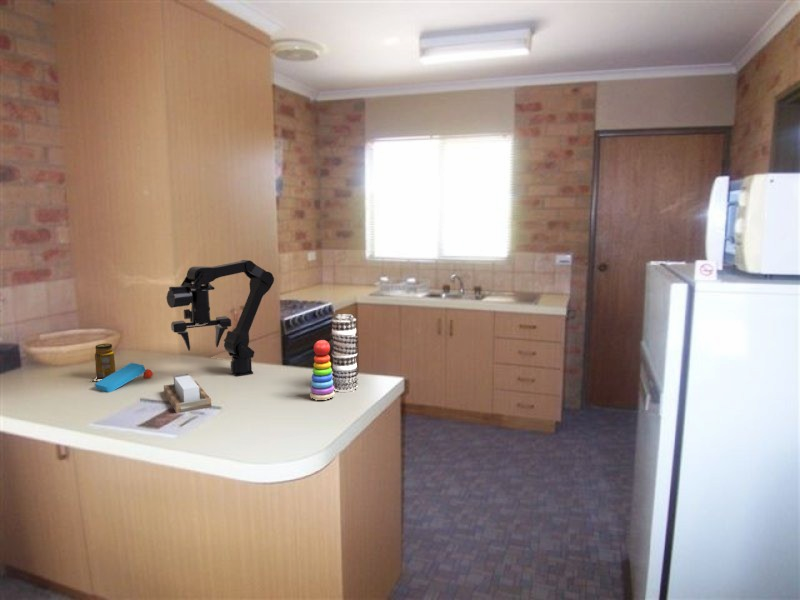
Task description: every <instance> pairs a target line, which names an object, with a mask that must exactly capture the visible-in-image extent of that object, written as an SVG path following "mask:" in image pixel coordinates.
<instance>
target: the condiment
mask: <svg viewBox="0 0 800 600" xmlns="http://www.w3.org/2000/svg"><path fill="white" fill-rule="evenodd" d="M94 348H95V353H94V361H95V374H96V376H97V379H104V378H105V377H107V376H109V375H111V374H112V373H114V372H116V364H115V352H114V349H113V345H112V343H100V344H99V343H98V344H96V345H95V346H94ZM92 381H94V380H93V379H92V380H90V382H91V383H93V382H92Z"/></svg>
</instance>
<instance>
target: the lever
mask: <svg viewBox="0 0 800 600" xmlns="http://www.w3.org/2000/svg"><path fill="white" fill-rule="evenodd" d="M153 375H154V373H153V371H152V369H147V368H146V367H145V366H144V365H143V364H139V363H134V362H130V363H129V364H127V365H125V366H123V367H122V368H120V369H117V370H115V372H114V373H112V374H111V375H109V376H107V377H105V378H104V379H102V380H100V381H98V382H94V386H95V388H96V390H98V389H99V390H98V391H101V390H102V391H101V392H105V391H106V393H111V392H114V391H115V390H117V389H118V388H120V387H122V386H124V385H125V384H127V383H128V382H130V381H132V380H134V379H136V378H140V377H142V378H144V379H145V378H146V380H147V379H150V378H152V377H153Z"/></svg>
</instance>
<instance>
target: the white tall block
mask: <svg viewBox="0 0 800 600" xmlns="http://www.w3.org/2000/svg"><path fill="white" fill-rule="evenodd" d="M195 381H196V380H194V379H193V377H192V376H190V374H189V373H184V374H177V375H173V384H174V390H175V392H176V394H177V395H178V397H179V398H180V399H181V401H182V402H189V401H194V400H200V393H199V386H198V385H197V384H196V383H195Z"/></svg>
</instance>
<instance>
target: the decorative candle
mask: <svg viewBox="0 0 800 600" xmlns="http://www.w3.org/2000/svg"><path fill="white" fill-rule="evenodd" d="M331 321H332V325H331V326H332V329H331V331H330V332H329V334H330V336H329V338H330V340H331V342H330V345H331V346H330V350H332V351H331V357H332V360H333V361H332V368H331V369H332V372H331V374H332V376H333V377H332V380H333V386H334V388H335V389H337V390H352V389H354V388H356V387H358V385H359V382H358V380H359V377H358V374H359V373H358V372H357V371H358V370H359V368H358V365H357V363H358V362H357V355H358V353H359V351H358V350H357V349H358V346H357V345H356V344H358V343H359V340H357V339H359V336H358V335H356V334H357V328H356V326H357V325H356V321H357V318H355V317H354V316H353V314H350V313H340V314H339V313H338V314H336V315H334V317H333V318H332V319H331Z"/></svg>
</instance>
